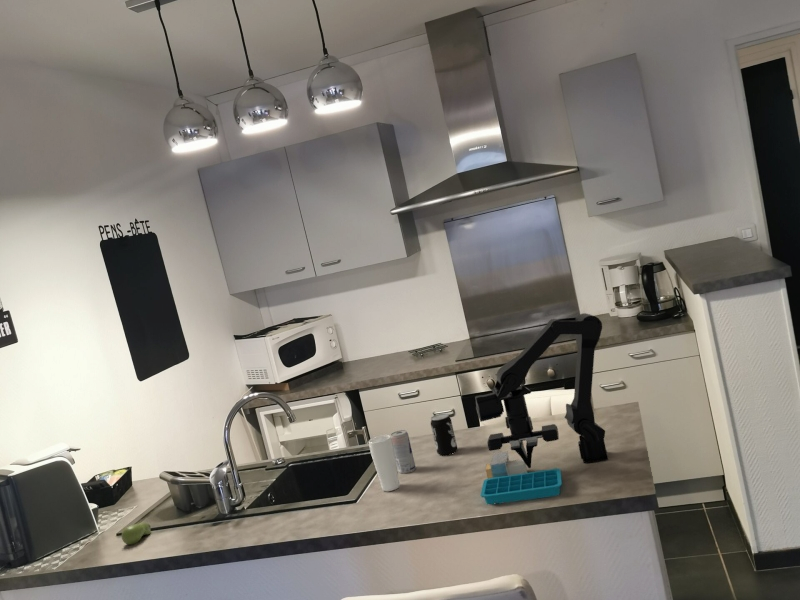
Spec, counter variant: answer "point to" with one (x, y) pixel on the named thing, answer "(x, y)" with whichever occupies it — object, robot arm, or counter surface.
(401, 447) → the energy drink
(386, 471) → the drinking glass
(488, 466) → the tan-tipped white bar
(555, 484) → the ice cube tray
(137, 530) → the pear
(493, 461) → the gray rectangular block
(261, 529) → the counter surface
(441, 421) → the beverage can
